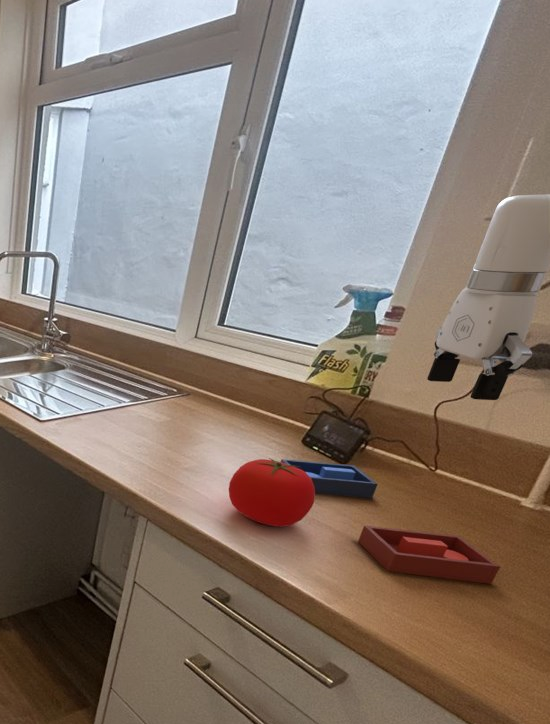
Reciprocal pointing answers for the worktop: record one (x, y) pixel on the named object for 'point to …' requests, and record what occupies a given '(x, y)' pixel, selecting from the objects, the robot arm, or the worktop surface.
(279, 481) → the tomato
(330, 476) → the blue stepped block
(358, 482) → the blue tub
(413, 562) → the red tub
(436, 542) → the red stepped block
